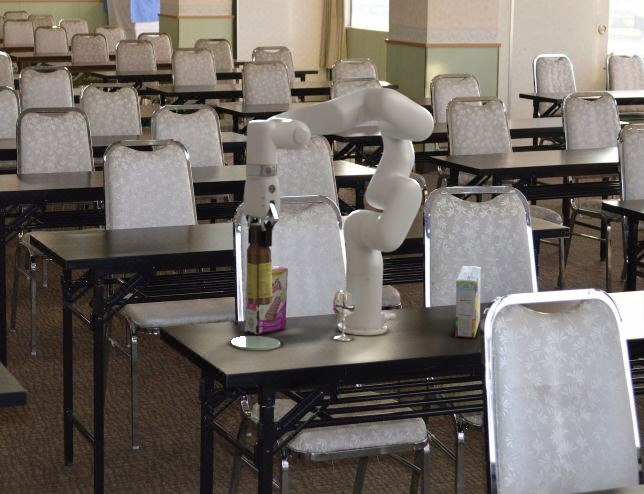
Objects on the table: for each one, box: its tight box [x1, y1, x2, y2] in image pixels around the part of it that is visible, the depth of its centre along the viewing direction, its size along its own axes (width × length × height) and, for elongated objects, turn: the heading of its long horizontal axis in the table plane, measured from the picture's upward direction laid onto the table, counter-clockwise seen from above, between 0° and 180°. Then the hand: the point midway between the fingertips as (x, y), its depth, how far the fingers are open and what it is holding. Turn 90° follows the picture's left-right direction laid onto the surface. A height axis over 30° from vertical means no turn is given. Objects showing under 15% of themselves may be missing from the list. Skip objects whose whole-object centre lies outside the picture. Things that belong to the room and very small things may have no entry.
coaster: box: [231, 335, 281, 351], centre depth 306 cm, size 12×12×1 cm
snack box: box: [454, 265, 482, 339], centre depth 326 cm, size 21×6×15 cm, turn 164°
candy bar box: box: [244, 265, 289, 336], centre depth 320 cm, size 11×5×16 cm, turn 135°
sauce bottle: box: [246, 222, 273, 305], centre depth 304 cm, size 7×6×20 cm
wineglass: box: [332, 289, 355, 342], centre depth 313 cm, size 6×6×12 cm
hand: (259, 244), depth 303 cm, fingers closed on sauce bottle, 4 cm apart
